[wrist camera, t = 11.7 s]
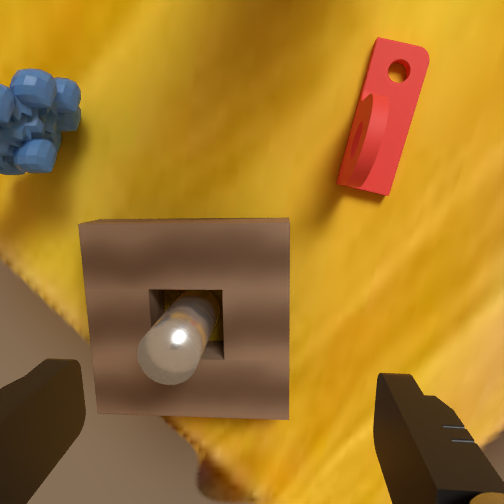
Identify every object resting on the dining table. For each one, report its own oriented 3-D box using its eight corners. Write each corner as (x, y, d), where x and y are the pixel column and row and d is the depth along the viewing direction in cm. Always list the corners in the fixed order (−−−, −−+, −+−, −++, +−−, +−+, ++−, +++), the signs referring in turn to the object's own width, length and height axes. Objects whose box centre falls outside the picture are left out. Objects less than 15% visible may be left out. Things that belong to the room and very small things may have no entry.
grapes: (48, 214, 36) (-63, 231, 24) (-2, 161, 35) (-142, 152, 24) (131, 130, 34) (52, 104, 22) (78, 72, 33) (-31, 13, 22)
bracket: (385, 195, 34) (416, 199, 26) (335, 183, 34) (352, 184, 26) (427, 54, 31) (476, 11, 23) (374, 42, 31) (405, -4, 24)
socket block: (100, 219, 36) (78, 224, 32) (288, 217, 34) (289, 222, 31) (116, 390, 39) (97, 413, 35) (288, 395, 38) (289, 419, 34)
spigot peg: (173, 287, 37) (134, 326, 27) (219, 287, 36) (196, 327, 26) (176, 330, 37) (139, 384, 28) (220, 331, 37) (199, 385, 27)
